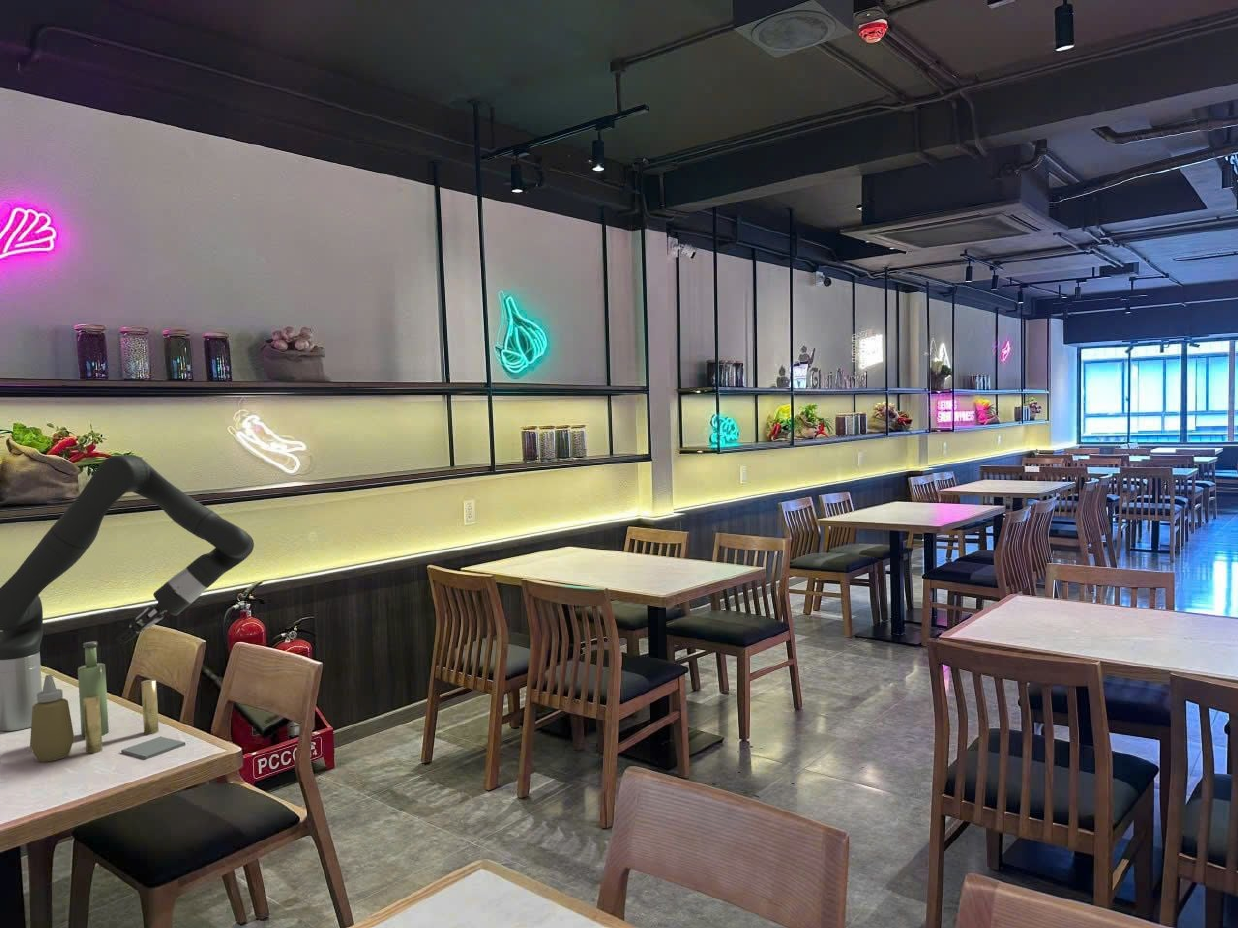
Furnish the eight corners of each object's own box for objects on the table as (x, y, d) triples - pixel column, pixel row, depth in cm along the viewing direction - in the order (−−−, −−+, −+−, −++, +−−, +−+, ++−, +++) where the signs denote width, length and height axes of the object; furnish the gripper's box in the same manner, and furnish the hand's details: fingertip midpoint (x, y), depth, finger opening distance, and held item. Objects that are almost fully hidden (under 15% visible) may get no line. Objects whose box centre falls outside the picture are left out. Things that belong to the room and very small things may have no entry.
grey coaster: (121, 752, 183) (121, 749, 183) (160, 738, 191) (160, 736, 191) (146, 759, 179) (145, 756, 179) (185, 744, 187) (185, 742, 187)
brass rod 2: (141, 733, 196) (138, 682, 195) (153, 728, 198) (151, 678, 198) (149, 734, 194) (146, 683, 194) (161, 730, 197) (158, 680, 196)
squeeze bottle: (47, 766, 177) (43, 682, 176) (21, 762, 180) (16, 679, 179) (84, 752, 184) (79, 671, 184) (58, 748, 187) (53, 669, 187)
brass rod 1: (83, 752, 184) (80, 698, 184) (97, 747, 187) (94, 694, 187) (91, 754, 183) (88, 700, 182) (105, 749, 186) (102, 696, 185)
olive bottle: (76, 736, 195) (71, 644, 194) (100, 728, 200) (95, 639, 199) (89, 739, 192) (84, 646, 192) (113, 731, 197) (108, 641, 196)
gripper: (172, 579, 207) (115, 626, 202) (165, 580, 194) (103, 631, 189) (194, 601, 209) (138, 648, 203) (189, 603, 196) (128, 654, 190)
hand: (122, 640), depth 196 cm, fingers open, 8 cm apart
